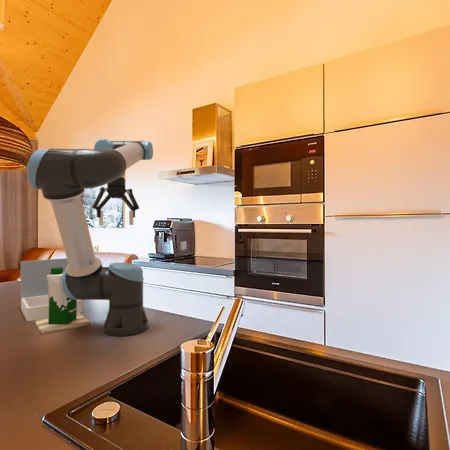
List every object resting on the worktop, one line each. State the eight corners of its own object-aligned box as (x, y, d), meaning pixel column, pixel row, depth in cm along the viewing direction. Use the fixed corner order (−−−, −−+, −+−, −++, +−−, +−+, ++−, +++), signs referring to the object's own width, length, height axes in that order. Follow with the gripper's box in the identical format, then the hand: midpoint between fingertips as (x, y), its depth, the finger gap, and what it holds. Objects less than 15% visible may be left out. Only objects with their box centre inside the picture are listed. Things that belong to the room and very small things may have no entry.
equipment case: (82, 312, 135) (81, 262, 135) (27, 321, 123) (26, 266, 123) (67, 299, 157) (67, 256, 157) (19, 306, 145) (18, 260, 144)
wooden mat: (90, 325, 118) (90, 322, 118) (41, 334, 109) (41, 331, 109) (79, 315, 131) (79, 312, 131) (34, 322, 121) (34, 320, 121)
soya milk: (57, 317, 124) (56, 266, 124) (80, 317, 124) (80, 266, 124) (44, 325, 115) (43, 270, 115) (69, 325, 115) (68, 270, 115)
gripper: (139, 180, 152) (139, 224, 153) (84, 175, 136) (84, 225, 137) (146, 178, 146) (146, 224, 147) (89, 173, 131) (89, 225, 131)
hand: (116, 225), depth 142 cm, fingers open, 13 cm apart
